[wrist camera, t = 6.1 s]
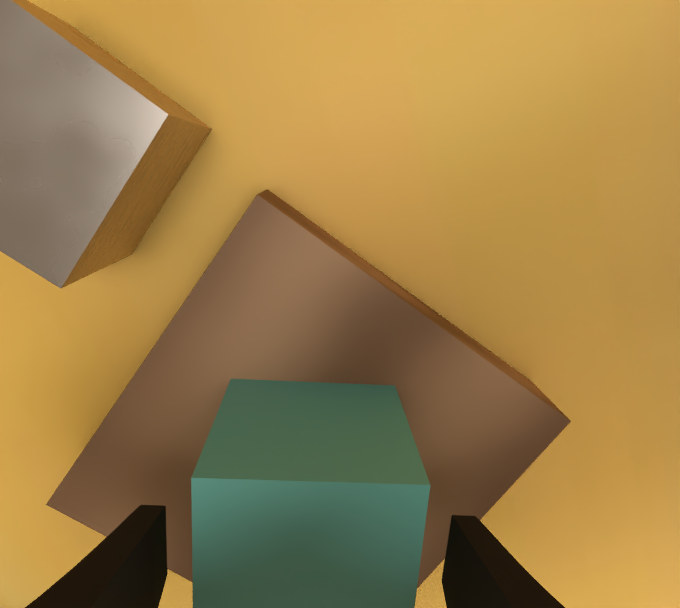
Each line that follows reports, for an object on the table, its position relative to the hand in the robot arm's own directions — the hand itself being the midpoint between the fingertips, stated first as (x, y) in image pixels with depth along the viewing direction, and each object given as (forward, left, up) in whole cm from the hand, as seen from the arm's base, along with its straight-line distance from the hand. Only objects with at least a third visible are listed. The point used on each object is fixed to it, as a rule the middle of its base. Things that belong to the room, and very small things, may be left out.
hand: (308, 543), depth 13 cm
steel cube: (+11, -4, -7) cm, 13 cm away
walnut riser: (0, 0, -7) cm, 7 cm away
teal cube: (0, 0, -4) cm, 4 cm away
